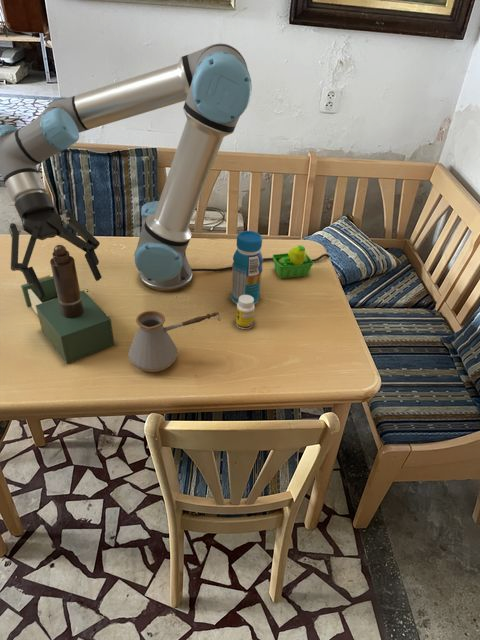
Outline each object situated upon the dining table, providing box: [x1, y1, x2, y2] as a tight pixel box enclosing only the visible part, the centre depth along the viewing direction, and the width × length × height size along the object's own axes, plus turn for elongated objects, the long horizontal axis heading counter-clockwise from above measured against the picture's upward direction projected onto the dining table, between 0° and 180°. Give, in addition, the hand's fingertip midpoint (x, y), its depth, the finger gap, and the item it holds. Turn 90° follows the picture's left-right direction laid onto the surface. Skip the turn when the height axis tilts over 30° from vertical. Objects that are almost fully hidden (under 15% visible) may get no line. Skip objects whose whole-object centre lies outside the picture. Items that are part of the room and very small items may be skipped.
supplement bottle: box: [235, 295, 256, 330], centre depth 129 cm, size 5×5×8 cm
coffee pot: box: [127, 310, 221, 373], centre depth 113 cm, size 21×12×15 cm, turn 95°
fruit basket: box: [272, 244, 314, 279], centre depth 150 cm, size 11×9×11 cm
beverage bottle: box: [230, 230, 264, 305], centre depth 134 cm, size 8×8×20 cm
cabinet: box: [36, 290, 115, 364], centre depth 119 cm, size 15×12×8 cm
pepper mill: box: [49, 244, 84, 318], centre depth 110 cm, size 5×5×18 cm
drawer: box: [20, 274, 58, 316], centre depth 126 cm, size 18×11×6 cm, turn 40°
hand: (71, 287), depth 109 cm, fingers open, 12 cm apart
